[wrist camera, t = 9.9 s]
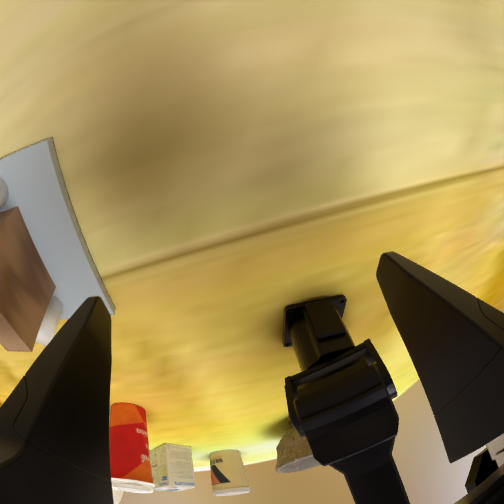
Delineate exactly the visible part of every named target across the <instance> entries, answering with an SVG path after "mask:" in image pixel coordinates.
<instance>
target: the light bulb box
mask: <svg viewBox="0 0 504 504" xmlns="http://www.w3.org/2000/svg"><path fill="white" fill-rule="evenodd" d="M150 463H151V471H152V478H153V484H155V487H154V488H153V490H161V491H181V490H186V489H190V488H195V487H196V484H195V477H194V470H193V462H192V453H191V446H184V445H176V444H169V443H165V444H163V445H161V446H159V447H158V448H156V449H154V450H152V451H150Z"/></svg>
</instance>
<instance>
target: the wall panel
mask: <svg viewBox="0 0 504 504" xmlns="http://www.w3.org/2000/svg"><path fill="white" fill-rule="evenodd" d="M17 206H18V207H19V210H20V212H21V215H22V217H23V220H24V222H25V224H26V227H27V229H28V231H29V234H30V236H31V238H32V240H33V243H34V245H35V247H36V249H37V251H38V253H39V255H40V257H41V259H42V261H43V263H44V265H45V267H46V269H47V271H48V273H49V275H50V277H51V279H52V280H53V282H54V284H55V286H56V288H55V291H54V293H53V295H52V298H51V300H50V303H49V305H48V308H47V310H46V313H45V315H44V318H43V321H42V323H41V326H40V329H39V332H38V335H37V338H36V341H35V342H37V343H39V344H41V345H48V344H49V342H50V341H51V340H52V339H53V337H54V334H55V331H56V328H57V325H58V322H59V320H60V319H69V318H70V317H71V316H72V315H73V313H74V312H75V311H76V310H77V309H78V308H79V307H80V305H81V304H82V303H83V302H84V301H85V300H86V299H87V298H88V297H92V296H100V297H101V298H102V300H103V302H104V304H105V306H106V307H107V309H108V311H109V313H110V315H114V313H115V306H114V304H113V302H112V300H111V298H110V296H109V294H108V292H107V290H106V288H105V286H104V284H103V282H102V280H101V278H100V275H99V273H98V271H97V269H96V266H95V264H94V262H93V260H92V257H91V255H90V252H89V250H88V248H87V245H86V243H85V240H84V238H83V235H82V233H81V230H80V227H79V225H78V222H77V219H76V216H75V214H74V211H73V208H72V205H71V202H70V199H69V196H68V193H67V190H66V187H65V183H64V180H63V177H62V173H61V170H60V166H59V163H58V159H57V155H56V151H55V147H54V143H53V139H52V137H51V138H48V139H45V140H43V141H40V142H38V143H35V144H33V145H30V146H28V147H25V148H23V149H20V150H18V151H16V152H14V153H11V154H9V155H7V156H5V157H3V158H1V159H0V212H3V211H5V210H8V209H11V208H14V207H17Z"/></svg>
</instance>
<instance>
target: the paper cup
mask: <svg viewBox="0 0 504 504" xmlns="http://www.w3.org/2000/svg"><path fill="white" fill-rule="evenodd" d="M109 446H110V468H111V482H112V489H115V490H122V491H126V492H135V493H152V492H153V488H154V487H155V484H153V478H152V471H151V463H150V454H149V444H148V434H147V422H146V413H145V410H144V409H143V408H142V407H140V406H138V405H134V404H130V403H116V404H113V405H112V408H111V414H110V422H109Z"/></svg>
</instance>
